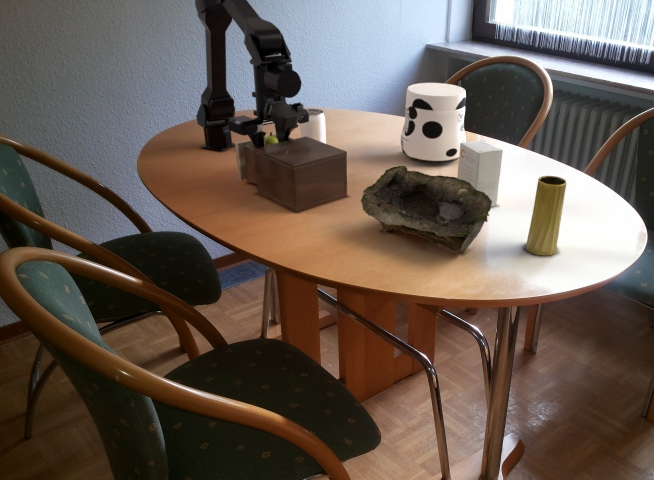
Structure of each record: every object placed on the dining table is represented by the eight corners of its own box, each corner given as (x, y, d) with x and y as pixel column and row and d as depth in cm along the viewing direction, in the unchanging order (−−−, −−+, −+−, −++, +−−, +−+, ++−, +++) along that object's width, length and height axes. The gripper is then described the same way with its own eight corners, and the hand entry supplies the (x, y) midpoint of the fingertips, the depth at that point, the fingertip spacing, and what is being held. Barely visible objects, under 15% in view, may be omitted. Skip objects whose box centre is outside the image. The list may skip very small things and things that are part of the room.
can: (328, 154, 174) (327, 109, 168) (323, 161, 168) (322, 115, 162) (304, 152, 174) (302, 107, 168) (299, 160, 169) (297, 114, 163)
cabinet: (257, 193, 148) (253, 148, 142) (307, 179, 157) (306, 136, 151) (296, 212, 139) (294, 165, 134) (347, 196, 148) (347, 151, 143)
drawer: (229, 174, 155) (225, 138, 151) (275, 163, 163) (272, 128, 159) (272, 195, 145) (269, 157, 140) (318, 181, 153) (317, 145, 148)
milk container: (476, 158, 175) (483, 90, 165) (436, 172, 164) (441, 100, 154) (428, 143, 185) (432, 78, 175) (386, 156, 174) (388, 87, 164)
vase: (521, 242, 130) (532, 174, 122) (551, 242, 130) (563, 174, 123) (529, 256, 125) (541, 186, 117) (560, 255, 125) (573, 186, 118)
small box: (496, 205, 146) (503, 149, 139) (473, 209, 144) (479, 152, 137) (477, 193, 152) (483, 139, 145) (454, 197, 150) (459, 142, 143)
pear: (257, 163, 151) (255, 133, 147) (269, 157, 155) (267, 127, 151) (276, 166, 149) (274, 136, 145) (287, 160, 153) (285, 130, 149)
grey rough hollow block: (482, 282, 125) (520, 216, 126) (458, 257, 114) (500, 185, 115) (377, 233, 140) (412, 175, 141) (348, 207, 129) (386, 144, 130)
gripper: (253, 101, 133) (259, 174, 141) (323, 89, 144) (324, 157, 152) (223, 91, 139) (230, 161, 147) (293, 80, 151) (296, 145, 159)
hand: (272, 156), depth 151 cm, fingers closed on pear, 5 cm apart
